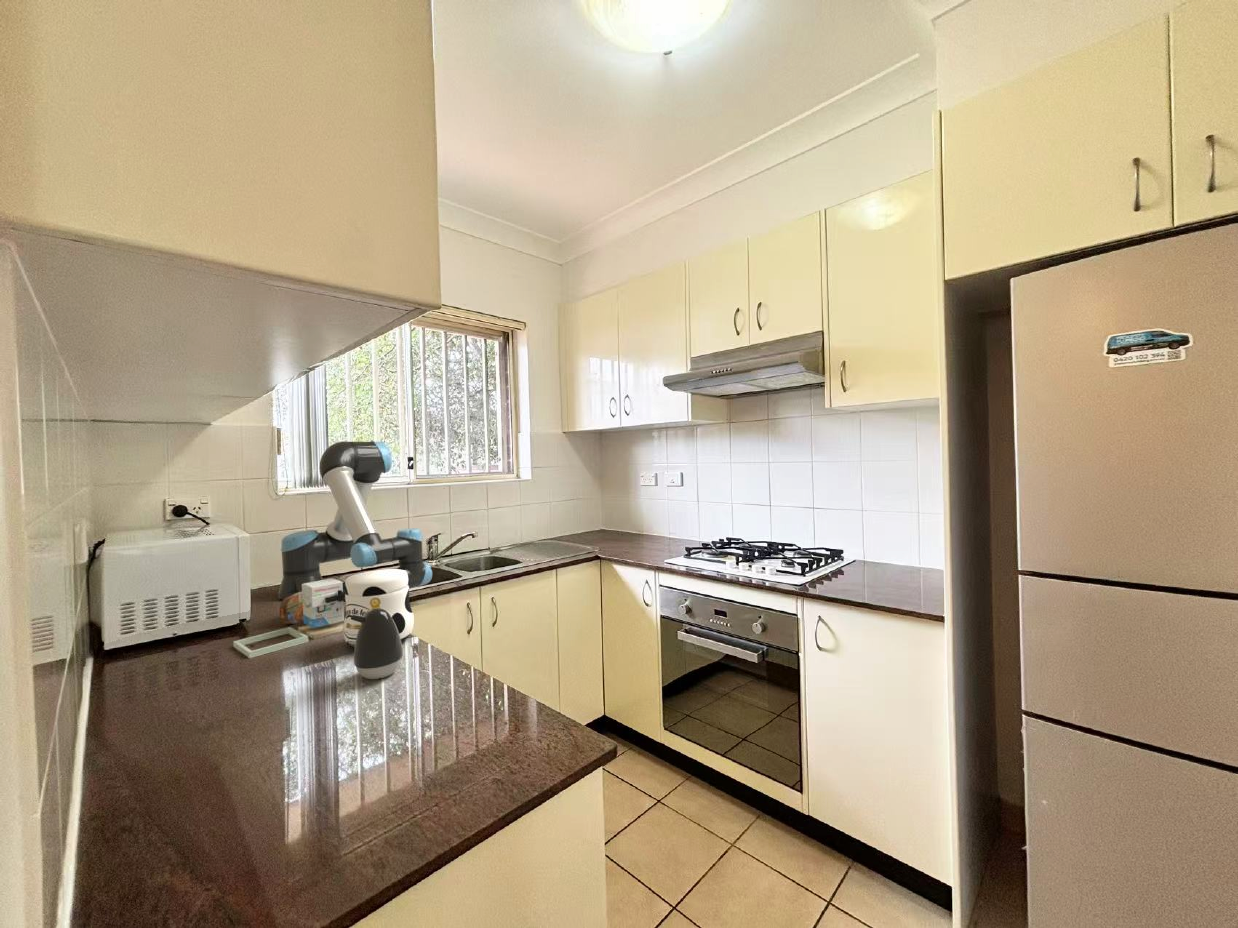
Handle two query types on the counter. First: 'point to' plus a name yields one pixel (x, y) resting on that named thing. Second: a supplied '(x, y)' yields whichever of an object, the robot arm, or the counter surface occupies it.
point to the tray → (250, 654)
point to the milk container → (378, 600)
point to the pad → (321, 630)
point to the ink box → (324, 612)
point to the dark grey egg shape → (377, 645)
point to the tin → (291, 610)
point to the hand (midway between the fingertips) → (305, 600)
